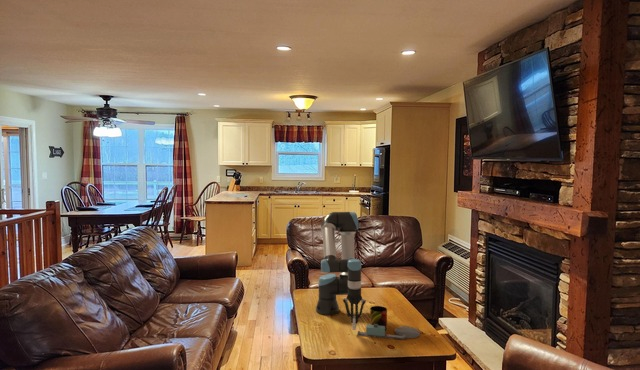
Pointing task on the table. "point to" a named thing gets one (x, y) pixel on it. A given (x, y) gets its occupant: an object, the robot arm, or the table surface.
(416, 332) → the coaster
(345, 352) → the table surface
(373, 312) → the mug
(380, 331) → the latch block
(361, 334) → the rail
